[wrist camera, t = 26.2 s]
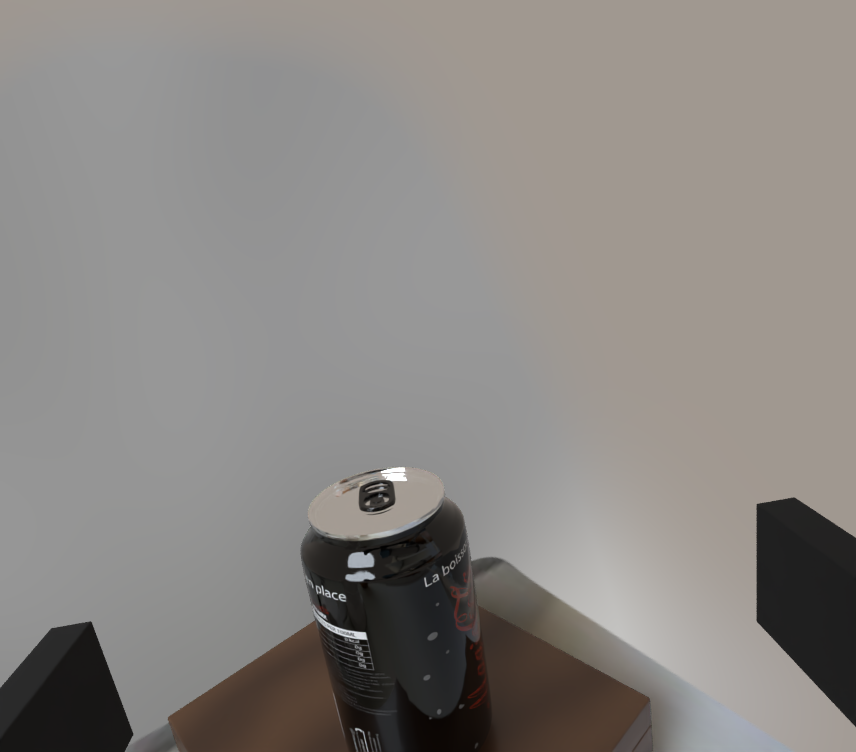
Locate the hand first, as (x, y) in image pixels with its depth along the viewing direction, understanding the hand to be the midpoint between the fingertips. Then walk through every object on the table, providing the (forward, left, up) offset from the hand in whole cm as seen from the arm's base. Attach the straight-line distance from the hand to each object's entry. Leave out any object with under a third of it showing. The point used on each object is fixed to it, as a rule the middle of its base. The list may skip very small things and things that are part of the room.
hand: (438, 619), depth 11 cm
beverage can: (+10, -6, -15) cm, 19 cm away
